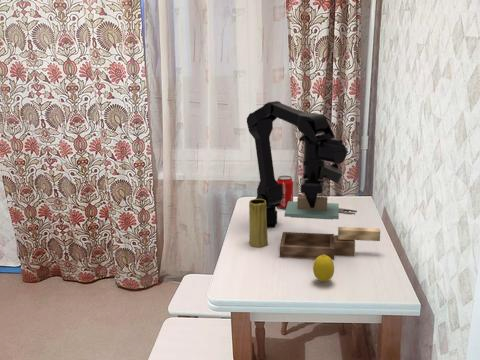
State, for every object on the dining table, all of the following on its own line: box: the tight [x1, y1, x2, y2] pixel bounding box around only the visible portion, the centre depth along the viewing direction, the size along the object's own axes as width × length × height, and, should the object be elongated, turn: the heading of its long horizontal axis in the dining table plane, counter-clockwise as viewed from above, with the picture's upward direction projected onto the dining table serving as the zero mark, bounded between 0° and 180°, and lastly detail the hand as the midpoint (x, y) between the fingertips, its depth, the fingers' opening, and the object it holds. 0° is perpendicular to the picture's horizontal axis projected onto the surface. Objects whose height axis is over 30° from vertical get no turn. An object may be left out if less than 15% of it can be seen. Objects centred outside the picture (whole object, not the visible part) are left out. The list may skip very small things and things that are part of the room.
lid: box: [284, 195, 340, 221], centre depth 147 cm, size 16×11×5 cm
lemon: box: [312, 254, 335, 283], centre depth 126 cm, size 6×6×8 cm
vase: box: [248, 198, 269, 248], centre depth 150 cm, size 6×6×14 cm
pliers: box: [339, 207, 358, 216], centre depth 181 cm, size 10×1×20 cm
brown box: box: [278, 231, 356, 261], centre depth 145 cm, size 22×11×4 cm, turn 80°
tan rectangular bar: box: [337, 226, 381, 242], centre depth 142 cm, size 12×2×3 cm, turn 80°
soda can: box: [276, 175, 294, 210], centre depth 182 cm, size 6×6×12 cm
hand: (312, 206), depth 147 cm, fingers closed on lid, 2 cm apart
